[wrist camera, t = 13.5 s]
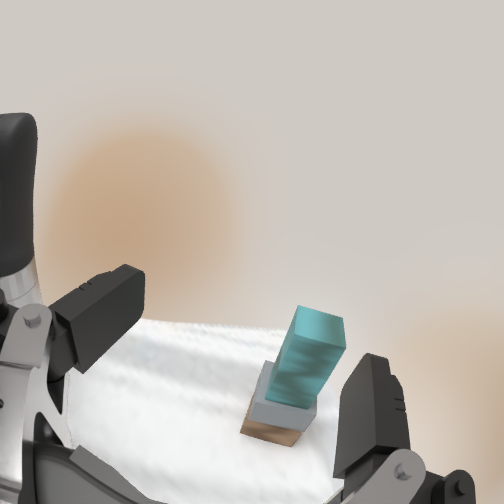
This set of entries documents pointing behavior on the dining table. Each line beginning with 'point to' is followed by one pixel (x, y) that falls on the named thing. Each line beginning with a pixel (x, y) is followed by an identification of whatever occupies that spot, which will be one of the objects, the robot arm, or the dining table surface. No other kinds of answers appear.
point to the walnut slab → (269, 431)
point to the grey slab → (278, 407)
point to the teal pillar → (306, 358)
